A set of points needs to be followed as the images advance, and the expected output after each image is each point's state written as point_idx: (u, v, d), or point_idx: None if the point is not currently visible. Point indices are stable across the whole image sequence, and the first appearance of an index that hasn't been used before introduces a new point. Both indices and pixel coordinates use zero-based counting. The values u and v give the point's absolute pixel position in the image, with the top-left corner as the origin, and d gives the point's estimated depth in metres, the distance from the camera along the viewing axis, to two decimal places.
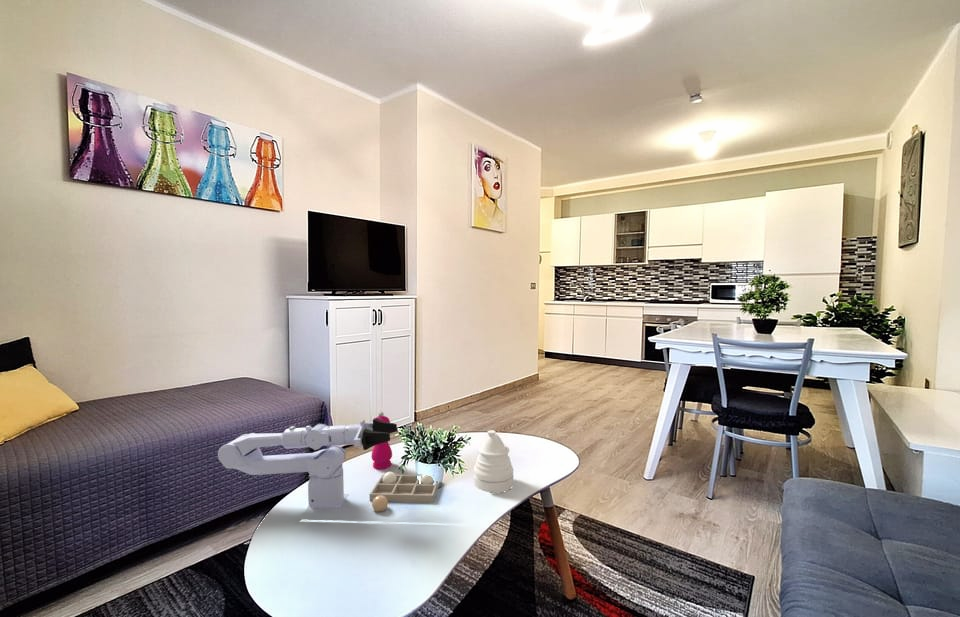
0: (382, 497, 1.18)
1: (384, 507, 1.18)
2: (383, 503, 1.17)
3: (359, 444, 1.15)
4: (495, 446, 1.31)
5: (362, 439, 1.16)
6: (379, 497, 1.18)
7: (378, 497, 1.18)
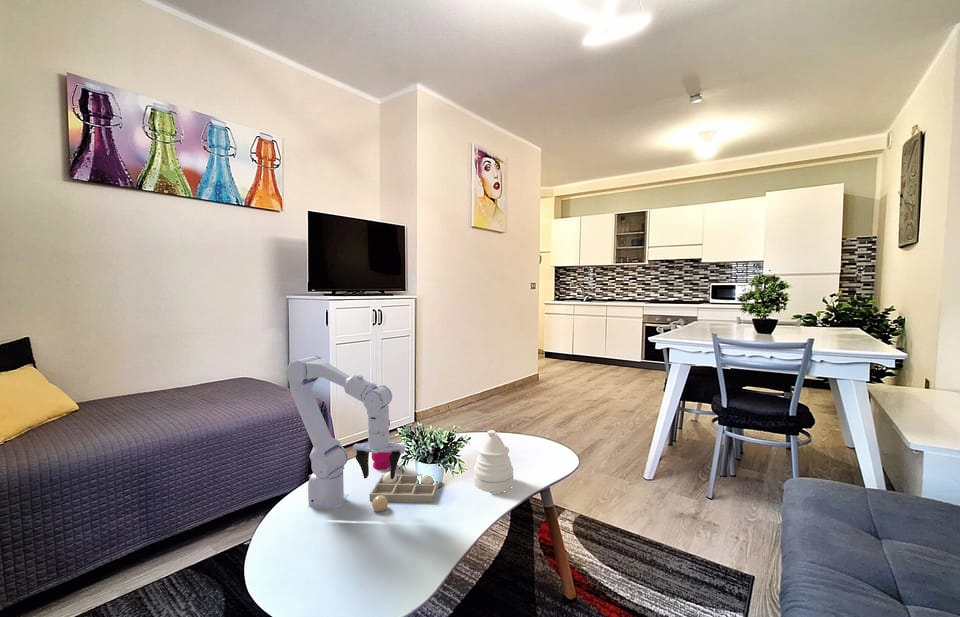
0: (382, 497, 1.18)
1: (384, 507, 1.18)
2: (383, 503, 1.17)
3: None
4: (495, 446, 1.31)
5: None
6: (379, 497, 1.18)
7: (378, 497, 1.18)
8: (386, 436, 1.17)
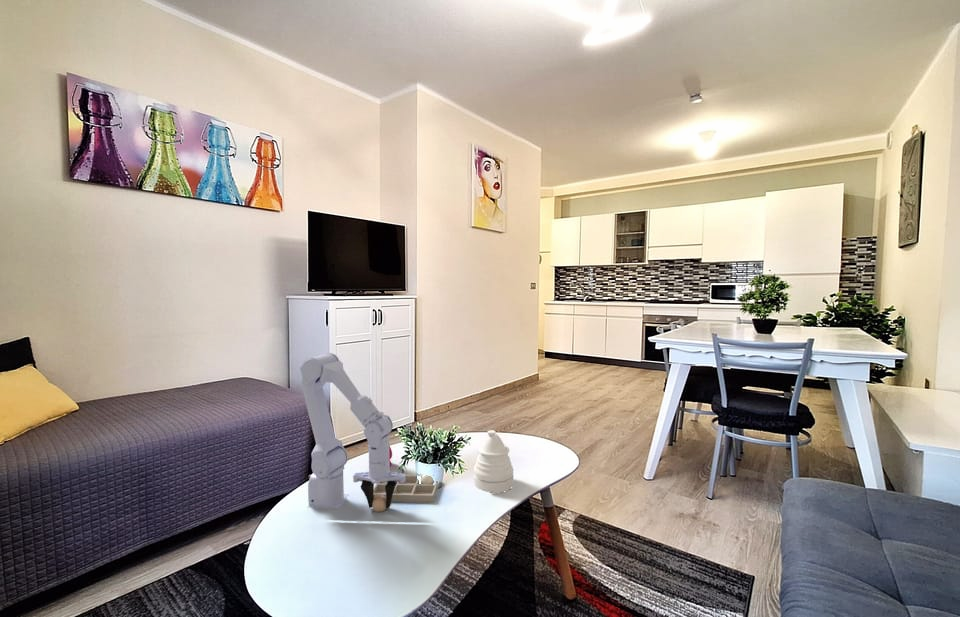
0: (382, 497, 1.18)
1: (384, 507, 1.18)
2: (383, 503, 1.17)
3: None
4: (495, 446, 1.31)
5: None
6: (379, 497, 1.18)
7: (378, 497, 1.18)
8: (387, 466, 1.17)
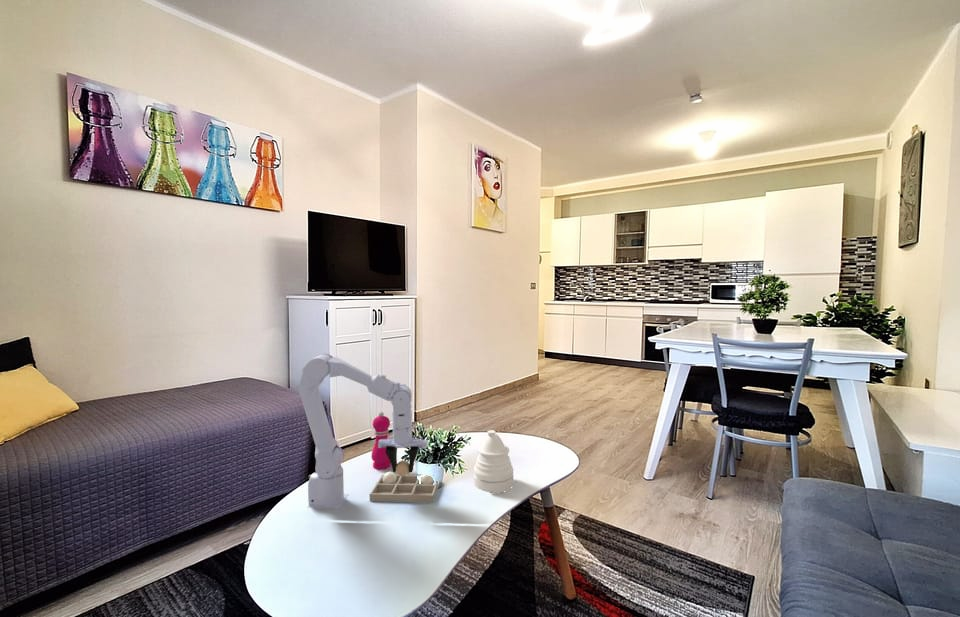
0: (405, 462, 1.25)
1: (407, 471, 1.24)
2: (406, 468, 1.24)
3: None
4: (495, 446, 1.31)
5: None
6: (402, 462, 1.25)
7: (401, 462, 1.25)
8: (409, 432, 1.24)
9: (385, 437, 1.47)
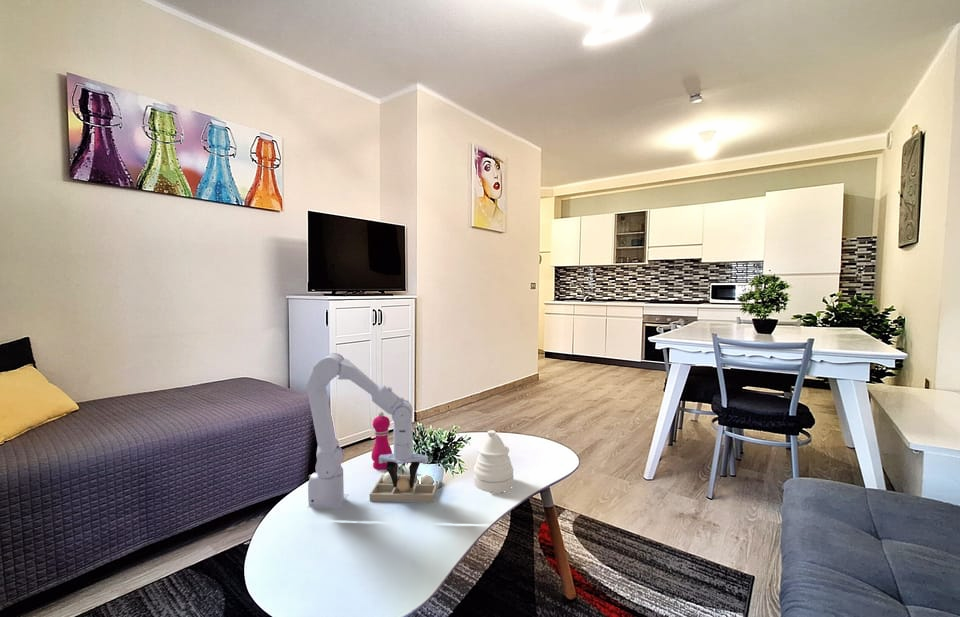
0: (406, 477, 1.26)
1: (408, 487, 1.25)
2: (406, 483, 1.25)
3: None
4: (495, 446, 1.31)
5: None
6: (403, 477, 1.26)
7: (402, 477, 1.26)
8: (410, 448, 1.25)
9: (385, 437, 1.47)
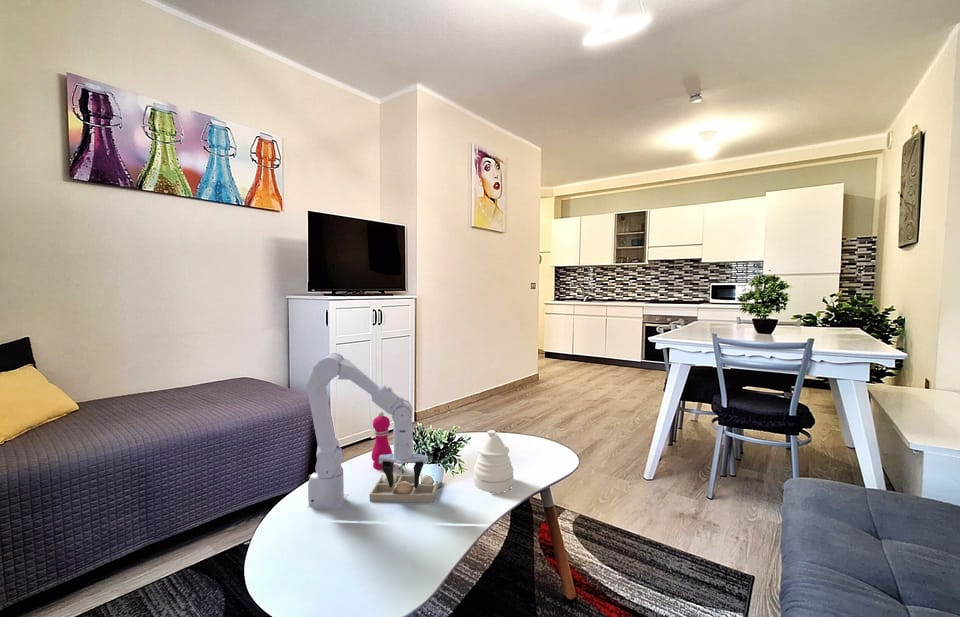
0: (406, 482, 1.26)
1: (408, 492, 1.25)
2: (406, 488, 1.25)
3: None
4: (495, 446, 1.31)
5: None
6: (403, 482, 1.26)
7: (402, 482, 1.26)
8: (410, 448, 1.25)
9: (385, 437, 1.47)
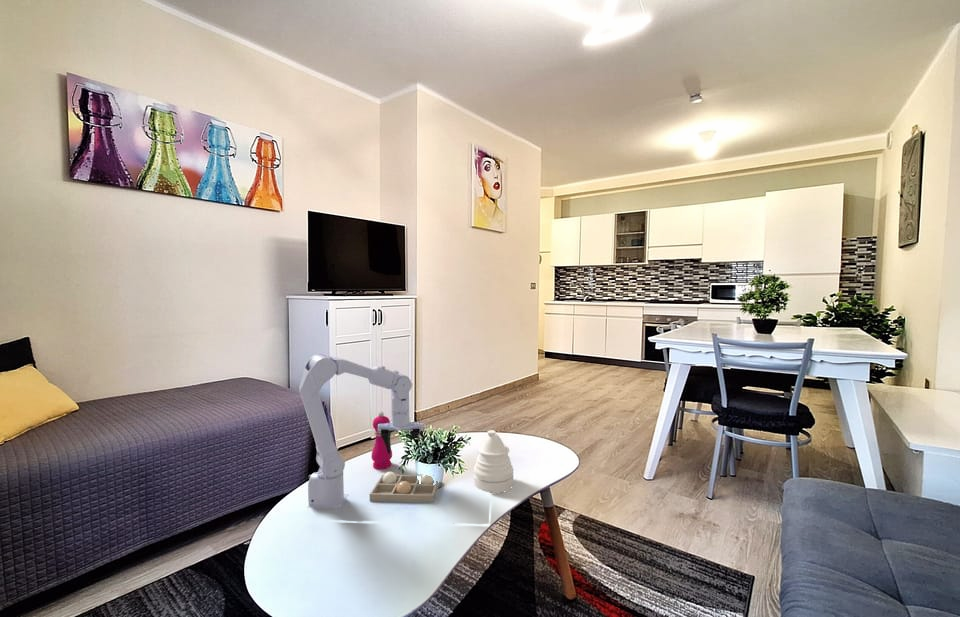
0: (406, 482, 1.26)
1: (408, 492, 1.25)
2: (407, 488, 1.25)
3: None
4: (495, 446, 1.31)
5: (381, 431, 1.34)
6: (403, 482, 1.26)
7: (402, 482, 1.26)
8: (408, 416, 1.34)
9: None
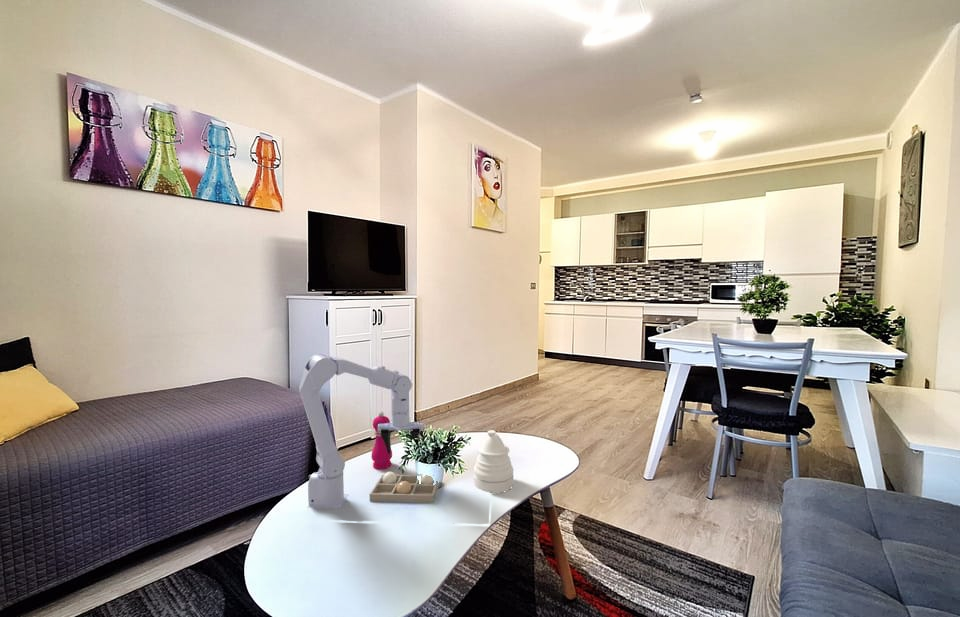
0: (406, 482, 1.26)
1: (408, 492, 1.25)
2: (407, 488, 1.25)
3: None
4: (495, 446, 1.31)
5: (381, 431, 1.34)
6: (403, 482, 1.26)
7: (402, 482, 1.26)
8: (408, 416, 1.34)
9: None
